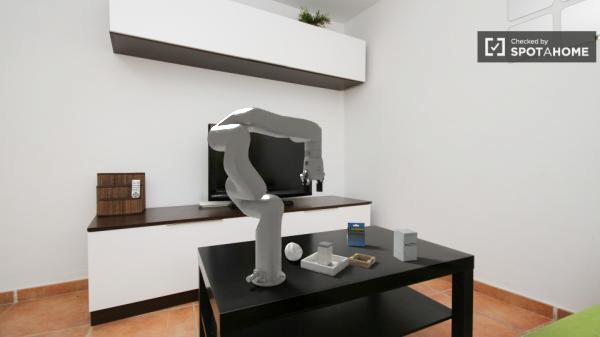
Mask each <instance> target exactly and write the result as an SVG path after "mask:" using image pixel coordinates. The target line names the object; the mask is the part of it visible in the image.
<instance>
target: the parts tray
mask: <svg viewBox="0 0 600 337" xmlns="http://www.w3.org/2000/svg"><path fill="white" fill-rule="evenodd" d="M349 258H350V257H345V256H341V255H338V254H337V255H336V254H333V253H332V265H330V266H325V265H321V264H318V251H316V252H314V253H312V254H310V255H308V256H307V257H305V258H303V259H301V260H300V268H301V269H305V270H309V271H312V272H314V273H315V272H316V273H319V274H323V275H327V276H330V277H334V276H336V275H337V274H338V273H340V272H341V271H342V270H344V269H346V267H348V266H349V265H350V264H349Z"/></svg>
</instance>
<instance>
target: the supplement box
mask: <svg viewBox="0 0 600 337" xmlns="http://www.w3.org/2000/svg"><path fill="white" fill-rule="evenodd" d="M393 257H394V258H396V259H398V261H399V260H400V261H401V262H408V261H417V260H418V231H415V230H412V229H409V228H401V229H393Z"/></svg>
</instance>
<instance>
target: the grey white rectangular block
mask: <svg viewBox="0 0 600 337" xmlns="http://www.w3.org/2000/svg"><path fill="white" fill-rule="evenodd" d="M317 252H318V264H321V265H325V266H330V265H332V254H333V242H330V241H321V242H319V243H317Z"/></svg>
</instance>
